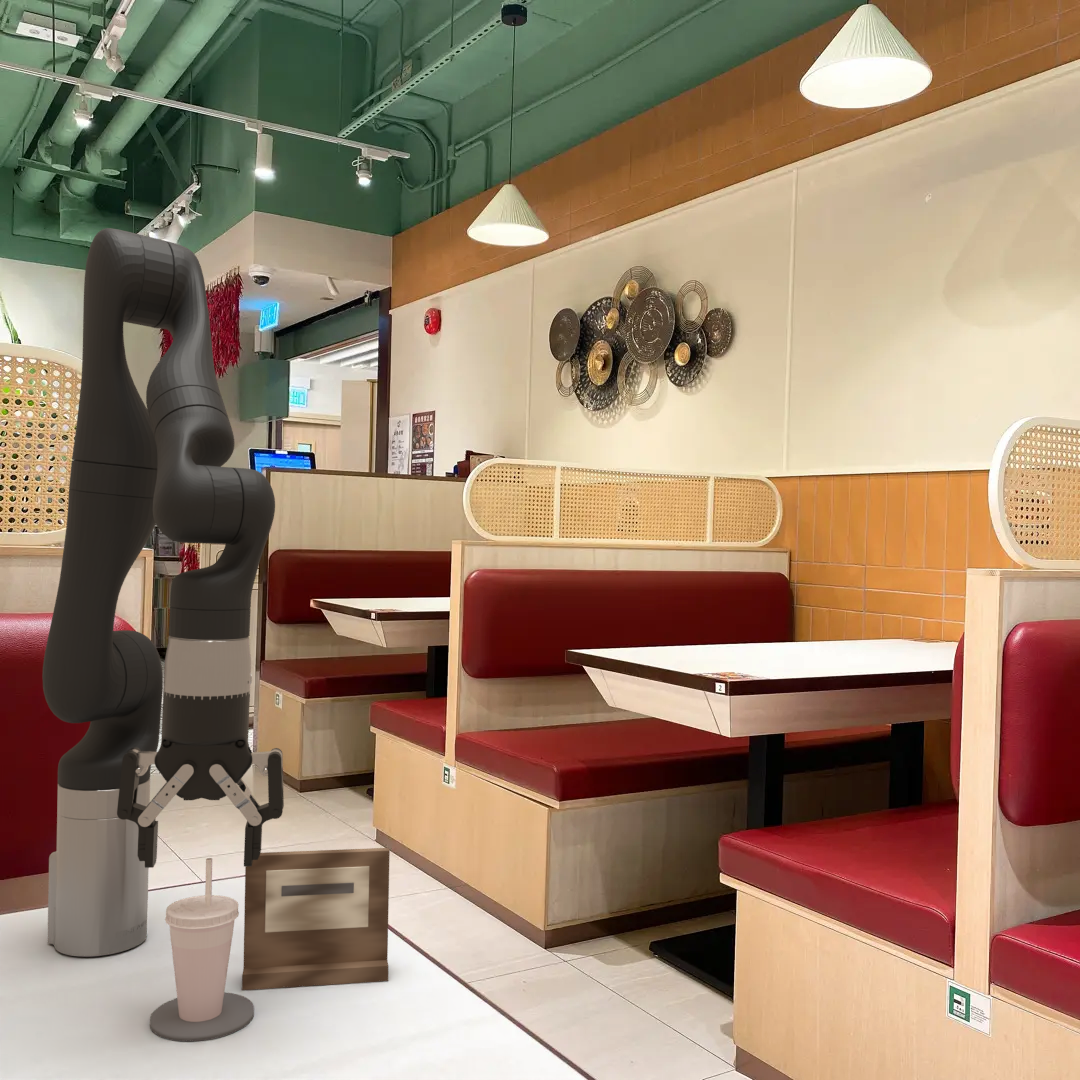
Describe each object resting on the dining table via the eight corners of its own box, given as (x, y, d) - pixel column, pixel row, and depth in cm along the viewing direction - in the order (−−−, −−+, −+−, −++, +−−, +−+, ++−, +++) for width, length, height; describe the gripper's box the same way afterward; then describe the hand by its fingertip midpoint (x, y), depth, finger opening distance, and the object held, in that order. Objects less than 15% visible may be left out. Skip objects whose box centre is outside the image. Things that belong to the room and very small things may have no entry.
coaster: (127, 1029, 95) (127, 1023, 95) (196, 990, 103) (196, 985, 103) (209, 1049, 91) (209, 1043, 91) (274, 1007, 99) (274, 1002, 99)
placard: (241, 990, 103) (244, 860, 103) (244, 973, 107) (247, 848, 107) (388, 980, 106) (390, 854, 106) (385, 965, 110) (387, 843, 110)
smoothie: (215, 1032, 93) (218, 871, 93) (148, 1024, 94) (152, 866, 95) (249, 1001, 100) (252, 851, 100) (186, 994, 101) (189, 846, 101)
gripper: (116, 691, 92) (108, 879, 92) (286, 694, 94) (278, 876, 95) (132, 679, 99) (125, 853, 99) (289, 681, 102) (282, 851, 102)
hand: (200, 864), depth 97 cm, fingers open, 8 cm apart
